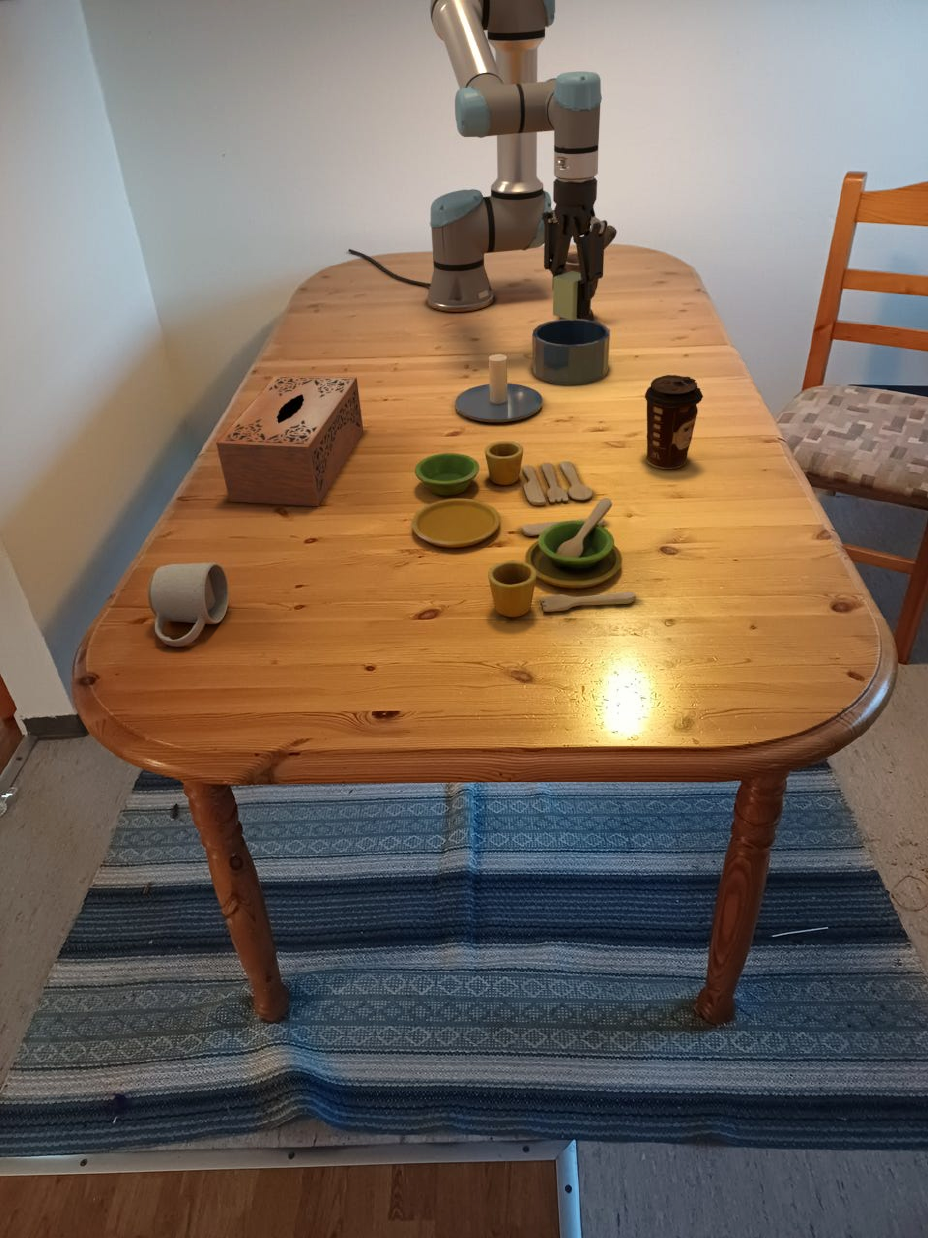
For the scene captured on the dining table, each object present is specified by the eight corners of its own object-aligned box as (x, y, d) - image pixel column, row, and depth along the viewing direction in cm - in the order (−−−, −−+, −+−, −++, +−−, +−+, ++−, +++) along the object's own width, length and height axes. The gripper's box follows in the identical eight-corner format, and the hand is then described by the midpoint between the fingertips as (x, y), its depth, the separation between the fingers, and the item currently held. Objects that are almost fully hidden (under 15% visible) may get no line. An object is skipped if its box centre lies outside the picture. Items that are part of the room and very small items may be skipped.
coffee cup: (698, 452, 145) (707, 375, 138) (691, 475, 139) (700, 397, 131) (644, 446, 148) (650, 370, 140) (635, 469, 142) (641, 391, 134)
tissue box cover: (318, 506, 137) (308, 446, 131) (229, 501, 140) (216, 442, 133) (363, 431, 157) (356, 377, 151) (285, 428, 160) (275, 374, 153)
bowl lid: (437, 407, 164) (434, 358, 158) (500, 381, 172) (499, 334, 166) (497, 433, 154) (495, 382, 149) (560, 405, 162) (561, 355, 157)
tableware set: (644, 610, 113) (647, 568, 109) (424, 633, 111) (420, 591, 107) (576, 459, 145) (577, 423, 141) (405, 475, 144) (402, 439, 140)
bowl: (516, 371, 176) (516, 333, 171) (568, 350, 183) (569, 313, 179) (571, 391, 167) (572, 352, 162) (623, 368, 174) (626, 330, 170)
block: (552, 314, 168) (553, 276, 164) (570, 308, 171) (571, 270, 167) (572, 320, 165) (573, 282, 161) (590, 313, 168) (592, 275, 164)
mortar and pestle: (611, 312, 200) (616, 217, 188) (611, 326, 193) (617, 228, 181) (558, 313, 201) (560, 218, 189) (558, 326, 194) (559, 229, 182)
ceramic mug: (175, 597, 119) (160, 549, 115) (234, 599, 118) (221, 551, 114) (143, 649, 111) (126, 599, 106) (207, 651, 110) (192, 602, 105)
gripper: (522, 174, 158) (523, 307, 172) (600, 188, 147) (594, 329, 161) (552, 167, 161) (550, 298, 175) (630, 180, 150) (622, 318, 164)
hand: (571, 312), depth 168 cm, fingers closed on block, 5 cm apart
